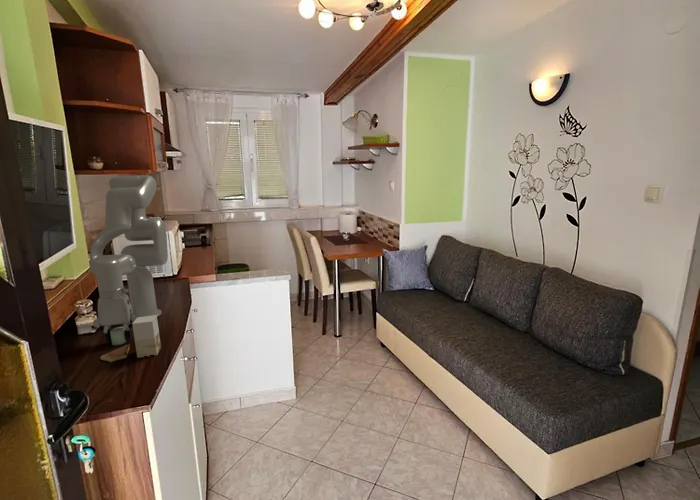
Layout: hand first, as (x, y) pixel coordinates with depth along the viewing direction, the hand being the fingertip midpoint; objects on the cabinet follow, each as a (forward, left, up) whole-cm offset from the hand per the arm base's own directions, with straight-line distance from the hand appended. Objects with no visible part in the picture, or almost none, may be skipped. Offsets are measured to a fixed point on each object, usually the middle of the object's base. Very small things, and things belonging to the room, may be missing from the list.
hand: (119, 340), depth 139 cm
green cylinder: (0, 0, -1) cm, 1 cm away
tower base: (+13, +13, -1) cm, 18 cm away
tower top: (+13, +13, +5) cm, 19 cm away
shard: (+11, +2, -1) cm, 12 cm away
